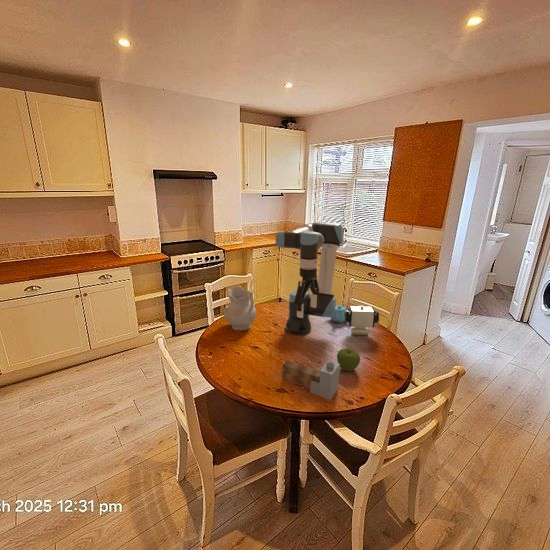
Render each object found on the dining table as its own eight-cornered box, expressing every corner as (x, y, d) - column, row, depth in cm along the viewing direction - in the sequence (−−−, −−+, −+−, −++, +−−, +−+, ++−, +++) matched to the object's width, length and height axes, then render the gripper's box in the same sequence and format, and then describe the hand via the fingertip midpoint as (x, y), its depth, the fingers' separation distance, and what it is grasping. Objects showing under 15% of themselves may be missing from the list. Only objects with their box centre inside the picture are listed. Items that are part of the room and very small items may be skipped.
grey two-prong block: (310, 392, 124) (311, 362, 120) (318, 381, 131) (320, 352, 127) (330, 400, 119) (332, 369, 115) (338, 388, 126) (340, 358, 122)
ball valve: (373, 331, 176) (376, 303, 171) (377, 338, 168) (380, 309, 162) (342, 330, 177) (344, 302, 172) (344, 336, 169) (346, 308, 164)
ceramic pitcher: (265, 327, 184) (266, 288, 178) (246, 337, 168) (246, 295, 162) (238, 319, 195) (238, 282, 189) (217, 328, 179) (217, 288, 173)
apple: (334, 362, 145) (335, 344, 142) (356, 362, 145) (357, 344, 142) (338, 375, 135) (339, 356, 132) (361, 376, 134) (363, 357, 131)
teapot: (352, 324, 185) (353, 309, 182) (332, 326, 183) (333, 310, 180) (343, 315, 197) (344, 301, 194) (324, 317, 195) (325, 302, 192)
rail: (282, 377, 133) (282, 364, 131) (287, 373, 136) (287, 360, 134) (319, 392, 124) (320, 377, 122) (323, 387, 127) (324, 372, 125)
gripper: (302, 275, 119) (301, 324, 125) (327, 262, 139) (325, 304, 145) (286, 272, 123) (286, 319, 129) (313, 260, 143) (311, 301, 149)
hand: (306, 312), depth 137 cm, fingers open, 13 cm apart
